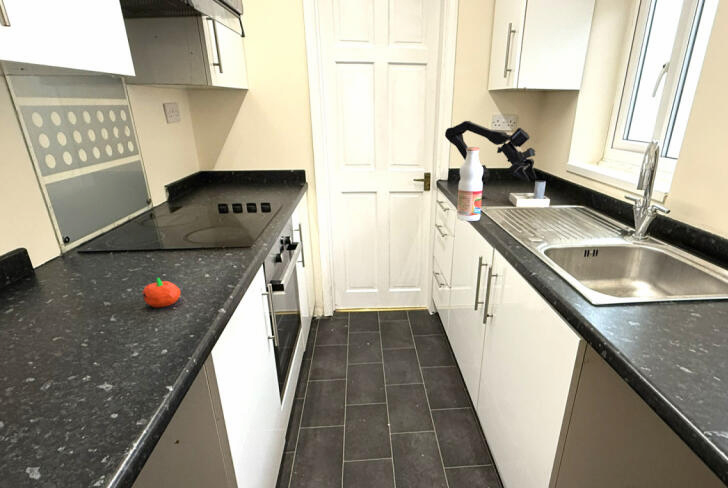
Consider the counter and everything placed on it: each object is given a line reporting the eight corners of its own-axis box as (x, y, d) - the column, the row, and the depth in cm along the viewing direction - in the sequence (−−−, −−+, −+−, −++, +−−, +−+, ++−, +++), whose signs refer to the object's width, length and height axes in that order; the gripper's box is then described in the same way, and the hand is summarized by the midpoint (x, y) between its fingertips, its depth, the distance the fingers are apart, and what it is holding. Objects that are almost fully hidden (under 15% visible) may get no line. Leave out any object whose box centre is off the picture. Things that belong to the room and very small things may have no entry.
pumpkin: (160, 314, 89) (153, 287, 87) (139, 306, 93) (132, 280, 90) (190, 302, 95) (184, 276, 93) (169, 295, 99) (163, 270, 96)
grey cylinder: (531, 202, 194) (534, 180, 190) (540, 202, 194) (543, 180, 190) (534, 204, 190) (537, 181, 186) (544, 204, 190) (547, 181, 186)
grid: (509, 200, 203) (509, 193, 201) (539, 200, 202) (540, 193, 201) (516, 206, 189) (517, 199, 187) (548, 207, 188) (549, 199, 187)
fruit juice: (457, 215, 173) (460, 146, 162) (479, 216, 172) (484, 146, 161) (456, 221, 164) (460, 148, 154) (480, 222, 163) (485, 148, 152)
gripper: (517, 143, 180) (539, 171, 178) (532, 140, 194) (552, 166, 192) (499, 160, 187) (519, 187, 185) (514, 156, 201) (534, 181, 199)
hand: (532, 180), depth 190 cm, fingers open, 9 cm apart
